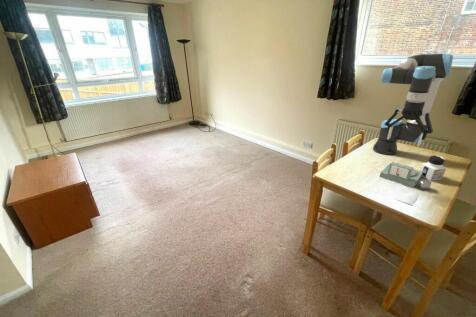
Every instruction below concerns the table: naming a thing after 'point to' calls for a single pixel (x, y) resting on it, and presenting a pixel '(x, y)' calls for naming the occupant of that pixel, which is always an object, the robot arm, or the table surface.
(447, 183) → the table surface
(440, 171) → the container
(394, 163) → the scale
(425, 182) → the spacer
